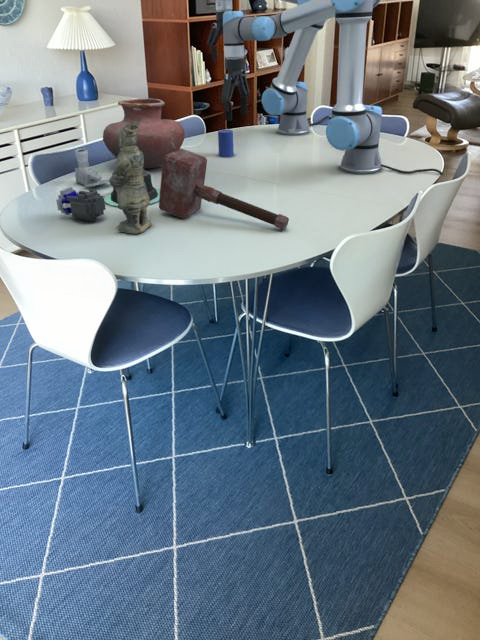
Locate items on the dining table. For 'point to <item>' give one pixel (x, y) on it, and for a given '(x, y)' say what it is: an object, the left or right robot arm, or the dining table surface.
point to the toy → (81, 204)
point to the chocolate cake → (152, 192)
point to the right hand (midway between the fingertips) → (236, 117)
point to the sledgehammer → (200, 190)
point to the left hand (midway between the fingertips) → (225, 62)
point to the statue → (131, 182)
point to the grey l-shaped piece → (86, 170)
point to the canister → (225, 143)
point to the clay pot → (146, 131)
